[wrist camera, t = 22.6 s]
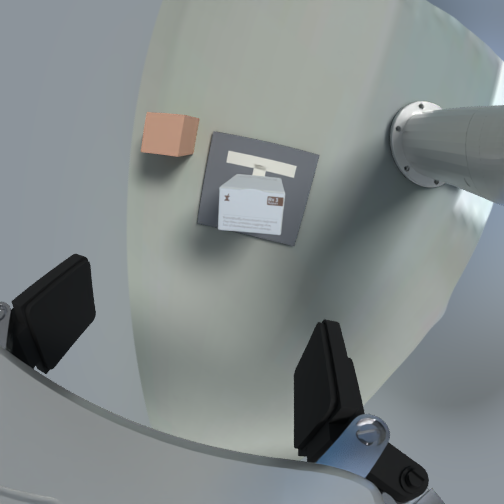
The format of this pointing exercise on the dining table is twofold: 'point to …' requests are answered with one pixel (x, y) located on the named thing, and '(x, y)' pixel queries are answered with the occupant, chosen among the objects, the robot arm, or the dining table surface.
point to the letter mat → (260, 164)
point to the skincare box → (251, 204)
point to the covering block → (169, 134)
